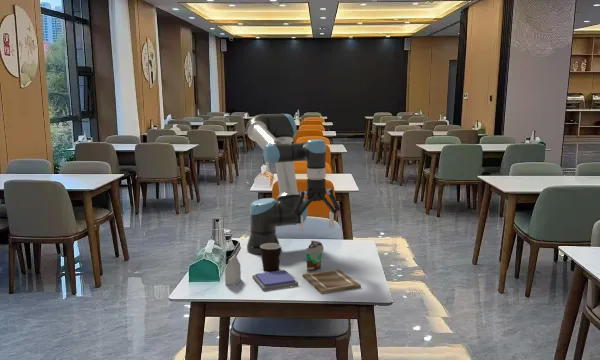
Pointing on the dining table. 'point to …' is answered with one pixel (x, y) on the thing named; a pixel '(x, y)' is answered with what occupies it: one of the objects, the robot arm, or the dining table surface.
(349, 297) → the dining table surface
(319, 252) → the food container
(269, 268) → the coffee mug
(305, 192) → the robot arm
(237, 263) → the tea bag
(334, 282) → the marked board
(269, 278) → the ink pad
